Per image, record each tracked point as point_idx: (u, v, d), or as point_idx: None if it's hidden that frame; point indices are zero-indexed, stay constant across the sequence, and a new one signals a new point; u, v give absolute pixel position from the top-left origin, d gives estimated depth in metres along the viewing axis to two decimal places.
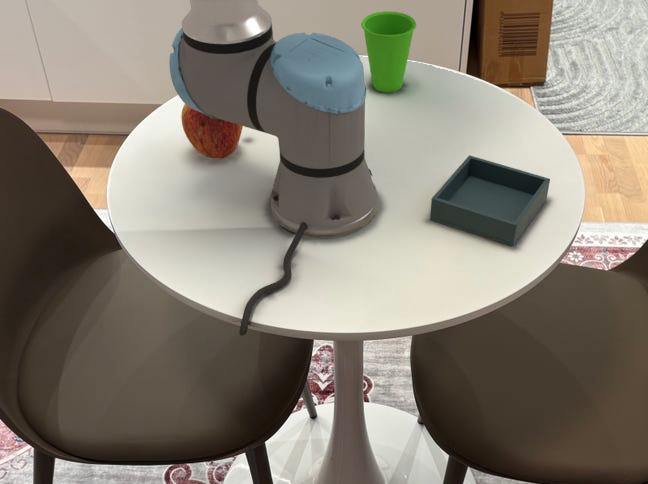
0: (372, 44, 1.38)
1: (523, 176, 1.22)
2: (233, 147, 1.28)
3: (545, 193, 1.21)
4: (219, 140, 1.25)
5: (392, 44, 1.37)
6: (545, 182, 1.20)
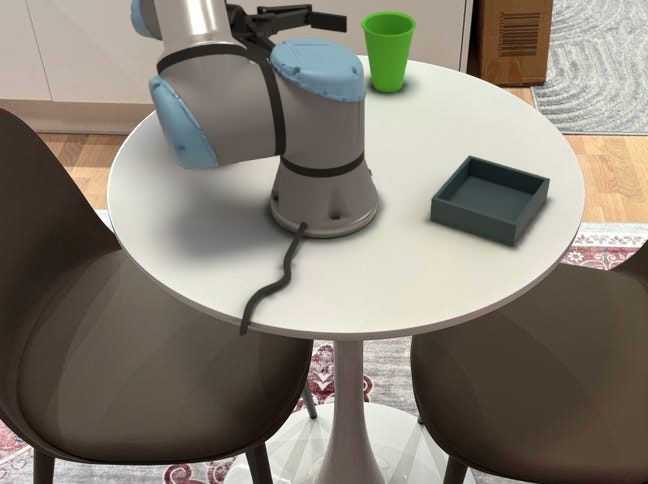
0: (372, 44, 1.38)
1: (523, 176, 1.22)
2: None
3: (545, 193, 1.21)
4: None
5: (392, 44, 1.37)
6: (545, 182, 1.20)
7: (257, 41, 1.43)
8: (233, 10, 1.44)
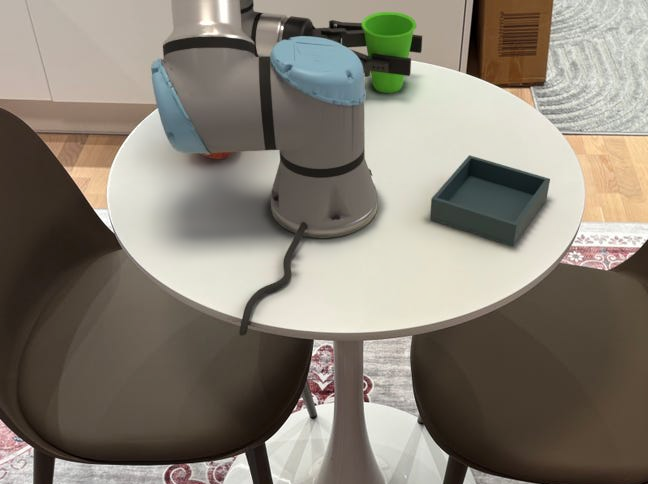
0: (372, 45, 1.38)
1: (523, 176, 1.22)
2: None
3: (545, 193, 1.21)
4: None
5: (392, 45, 1.37)
6: (545, 182, 1.20)
7: None
8: (304, 23, 1.42)
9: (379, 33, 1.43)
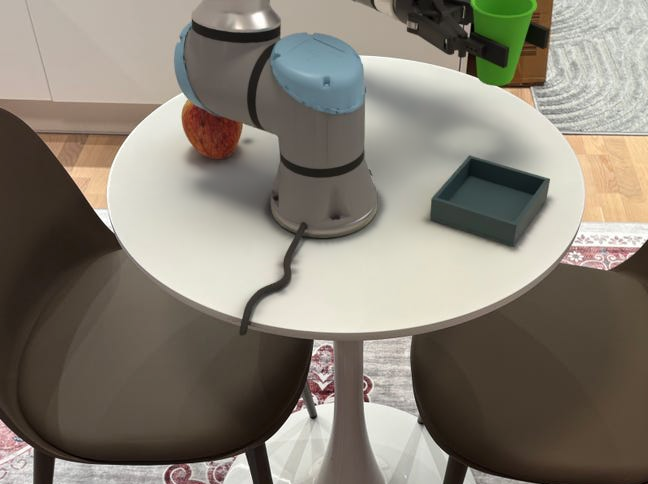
0: (475, 21, 1.16)
1: (523, 176, 1.22)
2: (233, 147, 1.28)
3: (545, 193, 1.21)
4: (219, 140, 1.25)
5: (493, 26, 1.14)
6: (545, 182, 1.20)
7: (441, 22, 1.21)
8: None
9: (501, 13, 1.20)
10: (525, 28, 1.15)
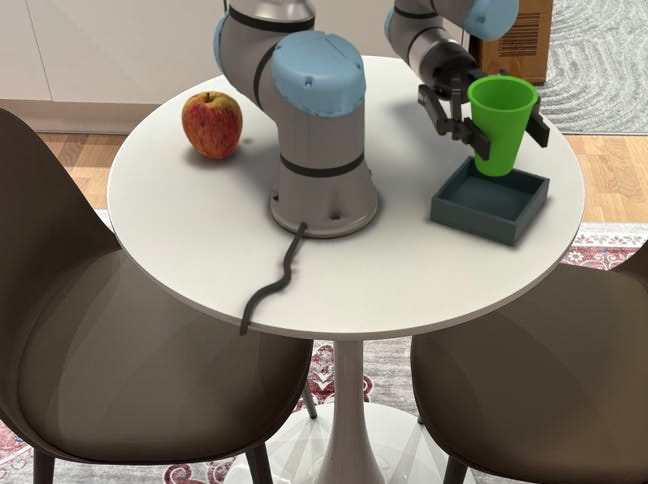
0: None
1: (523, 176, 1.22)
2: (233, 147, 1.28)
3: (545, 193, 1.21)
4: (219, 140, 1.25)
5: (481, 116, 1.08)
6: (545, 182, 1.20)
7: None
8: (450, 54, 1.18)
9: (510, 102, 1.12)
10: (518, 124, 1.08)
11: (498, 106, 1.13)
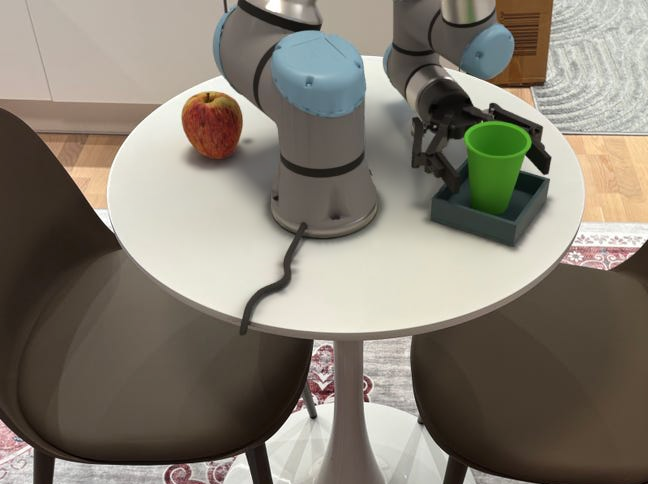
0: None
1: (523, 176, 1.22)
2: (233, 147, 1.28)
3: (545, 193, 1.21)
4: (219, 140, 1.25)
5: (477, 161, 1.12)
6: (545, 182, 1.20)
7: None
8: (445, 92, 1.23)
9: (504, 146, 1.17)
10: (512, 169, 1.13)
11: (493, 150, 1.18)
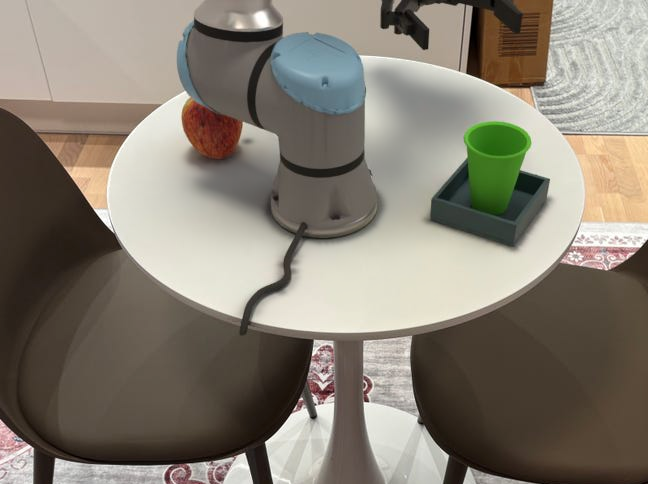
0: None
1: (523, 176, 1.22)
2: (233, 147, 1.28)
3: (545, 193, 1.21)
4: (219, 140, 1.25)
5: (477, 161, 1.12)
6: (545, 182, 1.20)
7: None
8: None
9: (504, 146, 1.17)
10: (512, 169, 1.13)
11: (493, 150, 1.18)
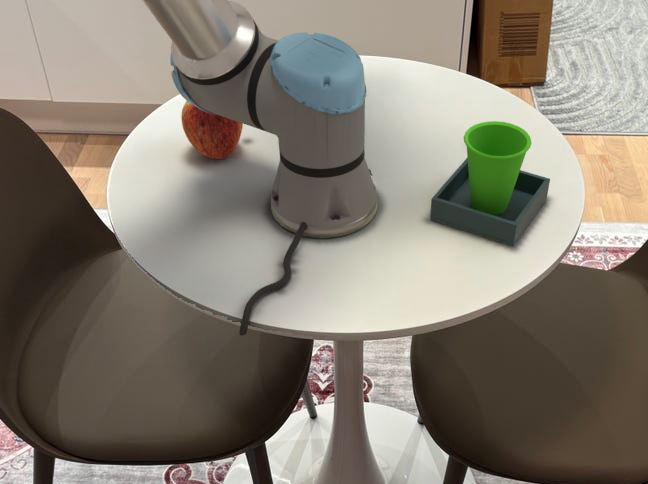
0: None
1: (523, 176, 1.22)
2: (233, 147, 1.28)
3: (545, 193, 1.21)
4: (219, 140, 1.25)
5: (477, 161, 1.12)
6: (545, 182, 1.20)
7: None
8: None
9: (504, 146, 1.17)
10: (512, 169, 1.13)
11: (493, 150, 1.18)
